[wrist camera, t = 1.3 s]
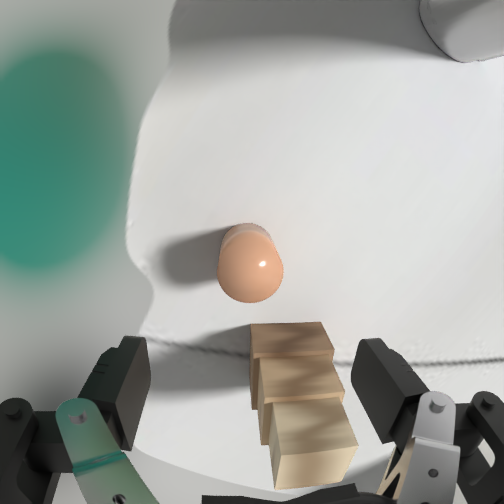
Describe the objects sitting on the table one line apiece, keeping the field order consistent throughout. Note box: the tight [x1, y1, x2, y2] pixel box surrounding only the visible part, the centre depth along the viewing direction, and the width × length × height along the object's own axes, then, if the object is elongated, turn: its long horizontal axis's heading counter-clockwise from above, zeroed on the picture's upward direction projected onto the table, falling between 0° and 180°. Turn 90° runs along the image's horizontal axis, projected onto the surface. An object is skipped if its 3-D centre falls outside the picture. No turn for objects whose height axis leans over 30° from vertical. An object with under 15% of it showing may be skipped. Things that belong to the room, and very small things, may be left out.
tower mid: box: [257, 354, 345, 445], centre depth 23 cm, size 6×6×5 cm
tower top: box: [269, 397, 359, 490], centre depth 18 cm, size 5×5×5 cm
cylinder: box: [217, 223, 283, 303], centre depth 24 cm, size 5×5×6 cm
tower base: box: [249, 322, 335, 410], centre depth 28 cm, size 7×7×5 cm
